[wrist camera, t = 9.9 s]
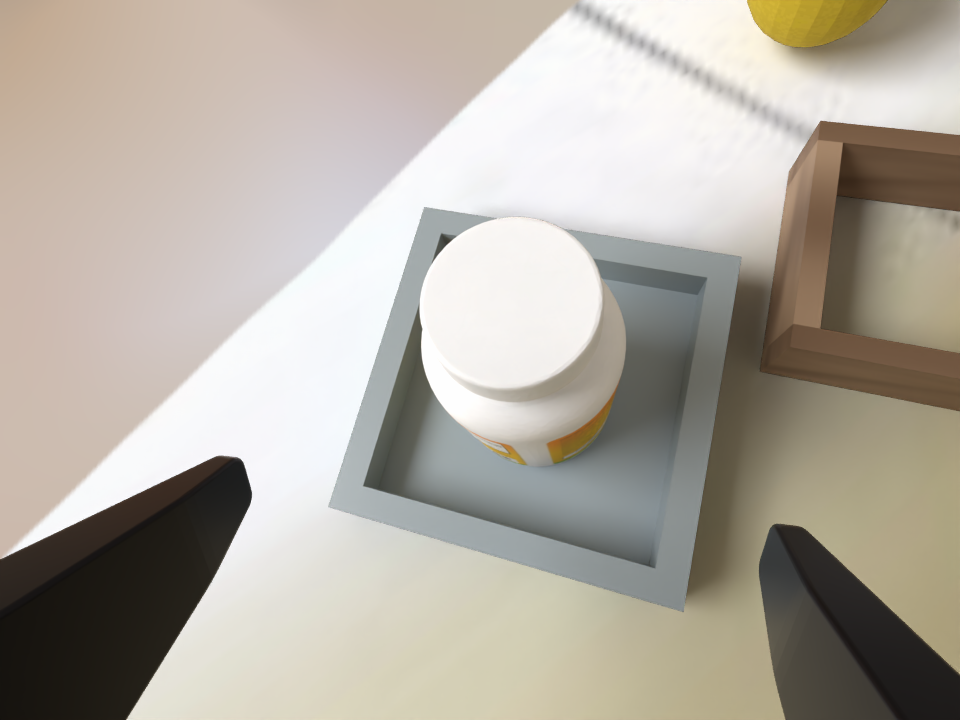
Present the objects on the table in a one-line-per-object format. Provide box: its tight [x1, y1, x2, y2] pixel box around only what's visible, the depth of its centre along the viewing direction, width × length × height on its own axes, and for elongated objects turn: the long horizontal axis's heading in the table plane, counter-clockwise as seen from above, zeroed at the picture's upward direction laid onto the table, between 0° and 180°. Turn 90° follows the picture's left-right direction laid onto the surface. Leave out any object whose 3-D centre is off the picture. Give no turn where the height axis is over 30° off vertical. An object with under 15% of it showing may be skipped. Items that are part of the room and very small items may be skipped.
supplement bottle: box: [420, 217, 626, 467], centre depth 16 cm, size 5×5×10 cm
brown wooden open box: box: [760, 121, 960, 411], centre depth 19 cm, size 9×9×3 cm
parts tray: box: [328, 207, 741, 612], centre depth 20 cm, size 12×12×2 cm
